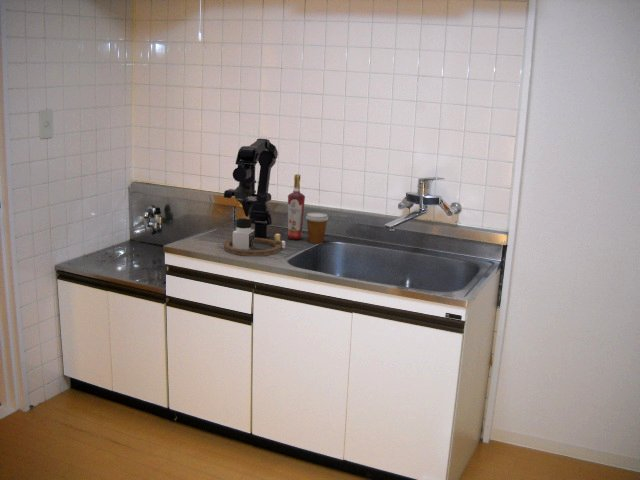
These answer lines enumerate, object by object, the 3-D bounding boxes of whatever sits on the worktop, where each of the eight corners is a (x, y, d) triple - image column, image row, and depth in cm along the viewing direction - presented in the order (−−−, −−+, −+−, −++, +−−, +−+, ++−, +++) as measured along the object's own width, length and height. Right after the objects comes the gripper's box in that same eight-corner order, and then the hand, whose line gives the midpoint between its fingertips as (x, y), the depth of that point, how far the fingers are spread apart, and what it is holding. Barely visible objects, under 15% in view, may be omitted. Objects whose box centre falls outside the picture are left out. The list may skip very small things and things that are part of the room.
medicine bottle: (249, 250, 294) (249, 221, 291) (232, 248, 295) (232, 219, 292) (254, 246, 300) (254, 217, 297) (237, 244, 302) (238, 216, 299)
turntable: (219, 242, 303) (219, 229, 302) (272, 240, 311) (273, 227, 309) (230, 256, 282) (230, 243, 281) (287, 254, 290) (288, 241, 288)
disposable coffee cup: (328, 244, 309) (330, 217, 306) (306, 244, 307) (307, 216, 304) (324, 239, 318) (326, 212, 315) (303, 239, 316) (304, 212, 313)
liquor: (284, 239, 313) (287, 175, 306) (288, 235, 320) (290, 173, 313) (301, 241, 312) (304, 176, 305) (304, 237, 319) (307, 174, 312)
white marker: (282, 248, 299) (282, 242, 299) (280, 246, 301) (281, 240, 301) (285, 248, 300) (285, 242, 299) (283, 246, 302) (283, 240, 301)
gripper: (217, 178, 286) (217, 217, 290) (261, 183, 280) (260, 222, 284) (230, 175, 296) (229, 212, 300) (272, 179, 291) (271, 217, 294)
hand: (247, 216), depth 294 cm, fingers closed
